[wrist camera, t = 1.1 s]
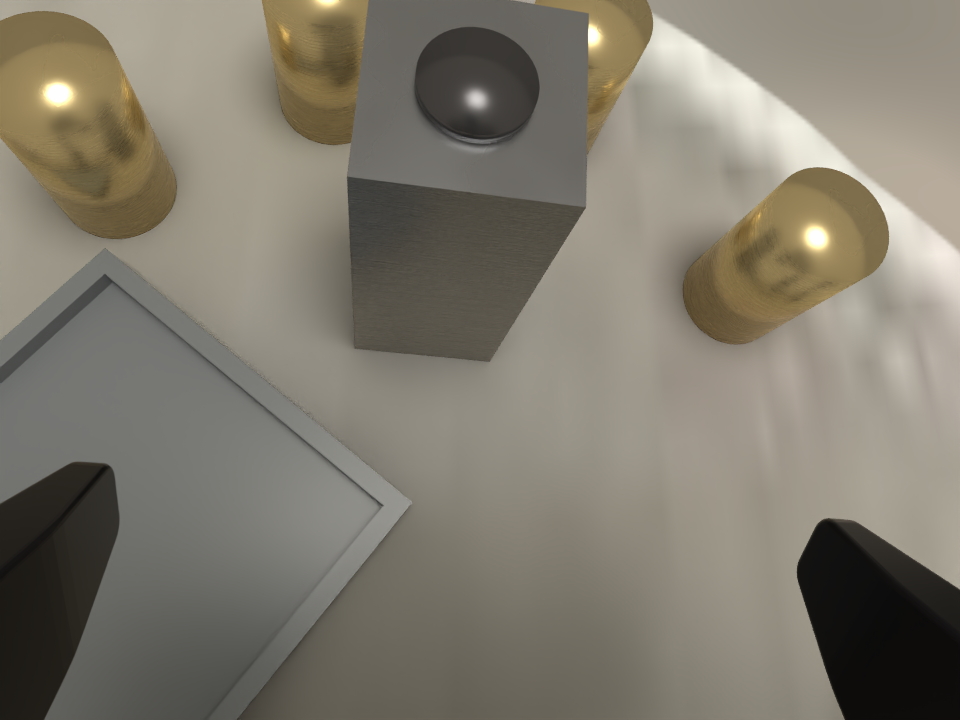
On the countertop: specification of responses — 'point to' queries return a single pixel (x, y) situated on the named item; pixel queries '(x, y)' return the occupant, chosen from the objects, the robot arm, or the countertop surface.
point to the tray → (182, 498)
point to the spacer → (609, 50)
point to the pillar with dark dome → (462, 168)
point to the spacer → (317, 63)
